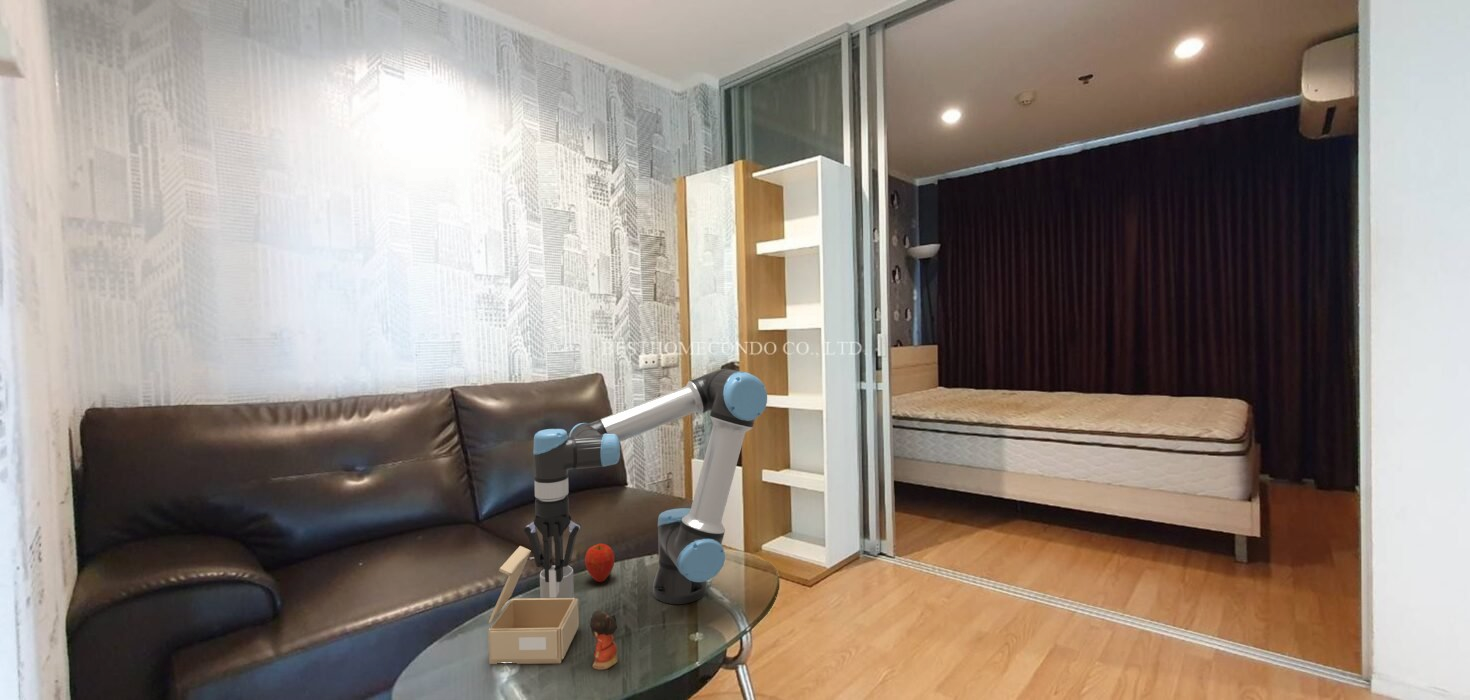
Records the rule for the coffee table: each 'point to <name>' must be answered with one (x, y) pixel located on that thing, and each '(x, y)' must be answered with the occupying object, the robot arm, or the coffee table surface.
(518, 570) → the lid
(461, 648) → the coffee table surface
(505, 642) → the carton
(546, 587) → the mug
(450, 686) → the coffee table surface
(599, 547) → the apple
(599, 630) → the figurine
